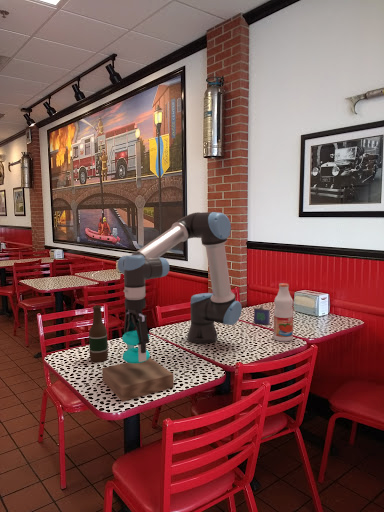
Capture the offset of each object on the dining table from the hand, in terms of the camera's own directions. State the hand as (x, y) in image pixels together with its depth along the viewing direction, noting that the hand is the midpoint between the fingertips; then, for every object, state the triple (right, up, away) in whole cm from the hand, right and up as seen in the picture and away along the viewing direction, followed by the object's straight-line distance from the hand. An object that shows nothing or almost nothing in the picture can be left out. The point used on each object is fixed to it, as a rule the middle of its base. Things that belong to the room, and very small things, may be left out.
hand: (136, 356), depth 146 cm
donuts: (0, -1, 0) cm, 1 cm away
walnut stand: (0, -11, +1) cm, 11 cm away
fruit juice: (+66, -5, +51) cm, 84 cm away
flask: (+60, -2, +78) cm, 99 cm away
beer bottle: (-20, -8, +26) cm, 34 cm away
